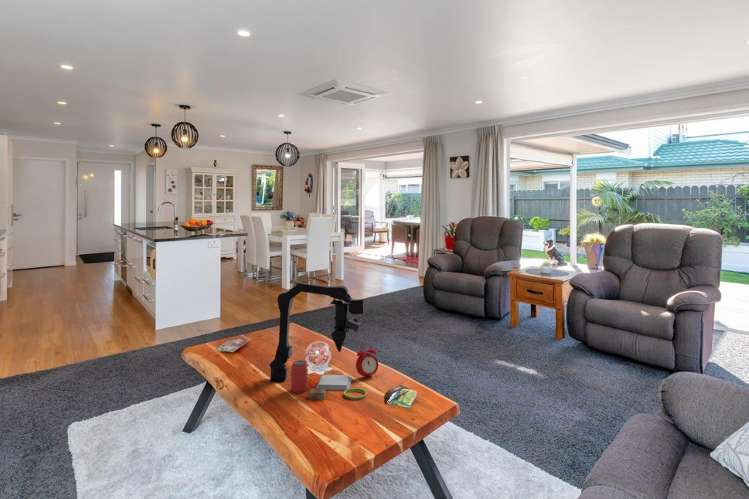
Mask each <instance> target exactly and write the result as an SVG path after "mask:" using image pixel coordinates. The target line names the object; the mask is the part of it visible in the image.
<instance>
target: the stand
mask: <svg viewBox="0 0 749 499" xmlns="http://www.w3.org/2000/svg"><path fill="white" fill-rule="evenodd" d="M352 380H353V377H352V376H350V375H346V374H345V375H343V374H340V375H339V374H323V375H322V376H320V379H319V380H318V383H317V385H316V387H315V389H326V391H343V392H344V391H345V390H347V389H350V388H351V384H352Z"/></svg>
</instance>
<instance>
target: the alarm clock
mask: <svg viewBox="0 0 749 499" xmlns="http://www.w3.org/2000/svg"><path fill="white" fill-rule="evenodd" d="M368 345H369V346H370V349H368V350H363V347H364V346H368ZM360 348H361V349H360V350H359V351H358V352H357V354H356V356H357V359H356V362H355V368H356V371H357V373H358V374H359V375H361V376H362V378H361V379H362V380H363V379H364V377H370V376H373V375H374V376H375V378H377V377H378V376H377V375H376V372H377V371H378V369H379V361H378V358H377V357H376V356H375V355H376V354H378V353H377V350H375V349H374V348H372V345H371V344H369V343H365V344H363V345H362V346H361V347H360ZM373 354H375V355H373Z"/></svg>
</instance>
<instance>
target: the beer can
mask: <svg viewBox="0 0 749 499" xmlns="http://www.w3.org/2000/svg"><path fill="white" fill-rule="evenodd" d="M290 370H291V372H290V374H291V378H290V380H291V382H290V384H291V386H290V387H291V388H290V390H291V391H292V392H293V393H296V394H298V393H299V394H302V393H304V392H306V391H307V389H308V365H307V361H305V360H301V359H300V360H295V361H293V362H292V364H291V369H290Z"/></svg>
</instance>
